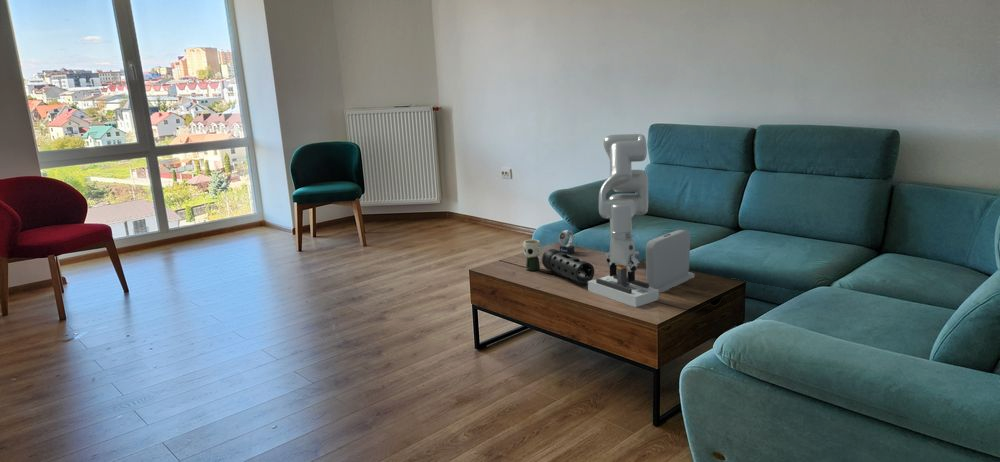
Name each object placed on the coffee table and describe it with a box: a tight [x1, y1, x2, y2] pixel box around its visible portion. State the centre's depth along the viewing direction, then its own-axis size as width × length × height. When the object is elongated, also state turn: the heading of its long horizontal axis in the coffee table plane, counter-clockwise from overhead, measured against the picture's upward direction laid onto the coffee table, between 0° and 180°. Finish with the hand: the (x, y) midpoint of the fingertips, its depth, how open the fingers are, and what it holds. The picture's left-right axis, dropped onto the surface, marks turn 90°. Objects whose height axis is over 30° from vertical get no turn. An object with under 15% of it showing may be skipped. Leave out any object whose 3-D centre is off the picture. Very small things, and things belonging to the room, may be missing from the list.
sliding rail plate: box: [595, 275, 649, 294], centre depth 255 cm, size 10×18×2 cm, turn 34°
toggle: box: [615, 265, 630, 287], centre depth 254 cm, size 4×4×8 cm
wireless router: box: [645, 229, 696, 294], centre depth 267 cm, size 31×10×20 cm, turn 134°
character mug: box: [522, 239, 542, 271], centre depth 295 cm, size 11×7×13 cm, turn 42°
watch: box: [557, 229, 575, 255], centre depth 320 cm, size 6×8×11 cm
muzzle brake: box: [541, 248, 595, 286], centre depth 281 cm, size 10×28×10 cm, turn 27°
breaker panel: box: [587, 274, 659, 308], centre depth 256 cm, size 12×26×4 cm, turn 34°
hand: (622, 278), depth 255 cm, fingers open, 9 cm apart
